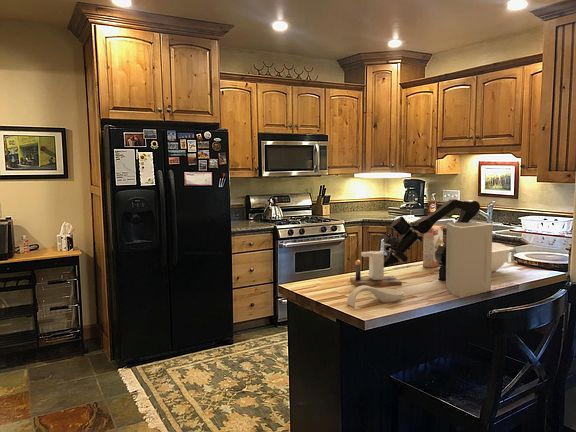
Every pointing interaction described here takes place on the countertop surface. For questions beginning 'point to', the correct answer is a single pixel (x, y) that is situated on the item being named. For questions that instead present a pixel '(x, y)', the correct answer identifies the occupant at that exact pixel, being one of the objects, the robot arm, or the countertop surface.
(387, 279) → the walnut rail
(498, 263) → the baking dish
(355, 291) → the spoon rest
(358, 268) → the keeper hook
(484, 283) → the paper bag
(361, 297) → the countertop surface
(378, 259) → the white block with lip
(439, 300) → the countertop surface
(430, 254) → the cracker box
